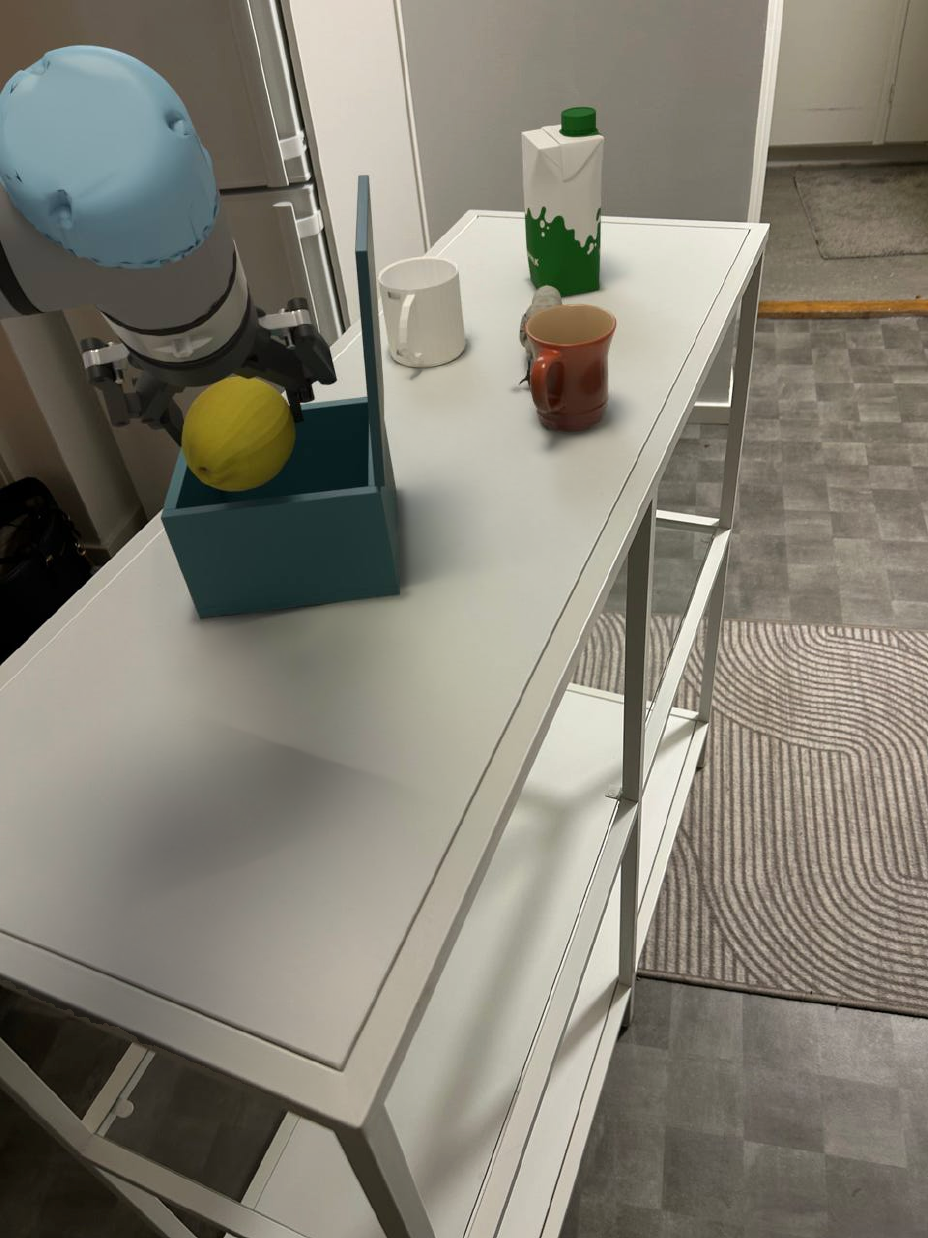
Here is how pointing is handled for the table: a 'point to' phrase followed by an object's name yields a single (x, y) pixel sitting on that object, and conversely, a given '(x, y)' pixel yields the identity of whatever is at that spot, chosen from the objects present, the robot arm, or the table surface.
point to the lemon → (238, 434)
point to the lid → (370, 327)
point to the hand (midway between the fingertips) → (238, 417)
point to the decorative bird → (541, 301)
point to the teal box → (292, 523)
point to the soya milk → (564, 202)
